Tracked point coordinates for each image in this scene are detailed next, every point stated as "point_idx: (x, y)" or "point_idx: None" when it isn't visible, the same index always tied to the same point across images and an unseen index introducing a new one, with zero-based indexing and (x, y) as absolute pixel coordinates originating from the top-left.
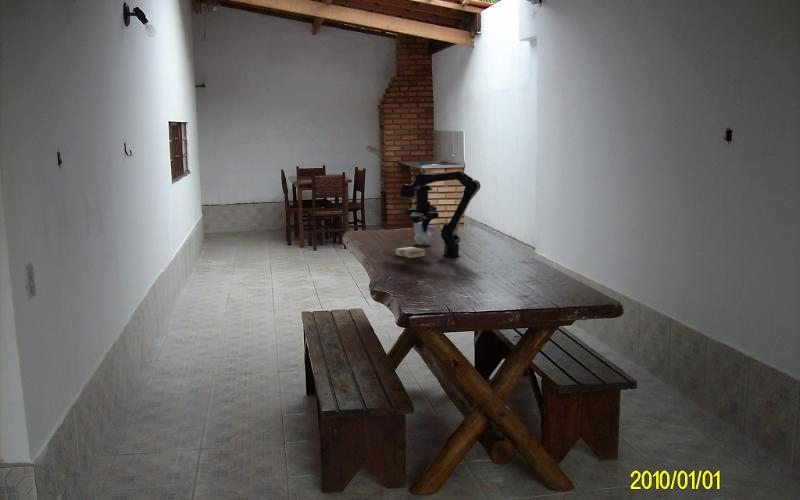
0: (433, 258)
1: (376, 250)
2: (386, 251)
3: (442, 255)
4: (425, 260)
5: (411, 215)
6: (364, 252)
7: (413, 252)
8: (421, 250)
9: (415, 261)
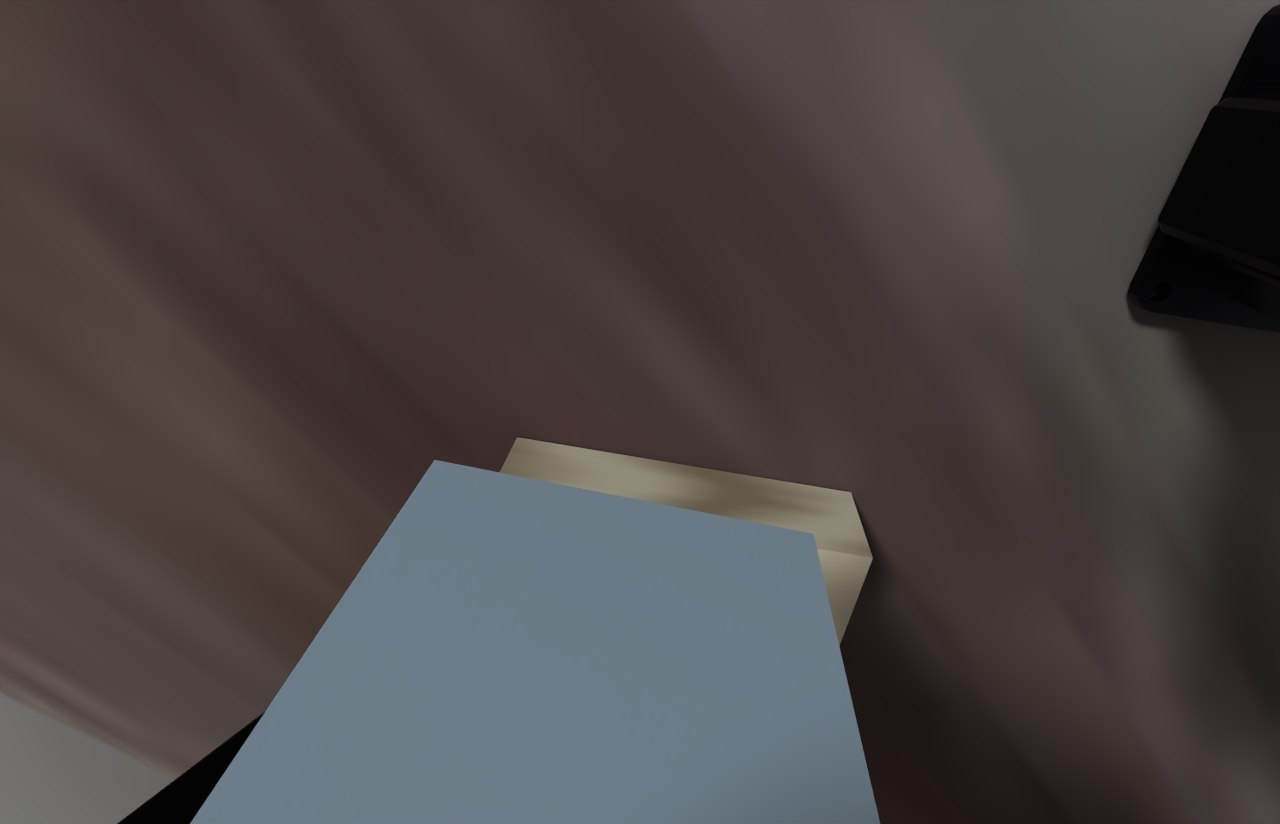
0: (1064, 564)
1: (110, 602)
2: (232, 576)
3: (1132, 301)
4: (1023, 721)
5: None
6: (178, 757)
7: None
8: (844, 632)
9: (943, 815)
